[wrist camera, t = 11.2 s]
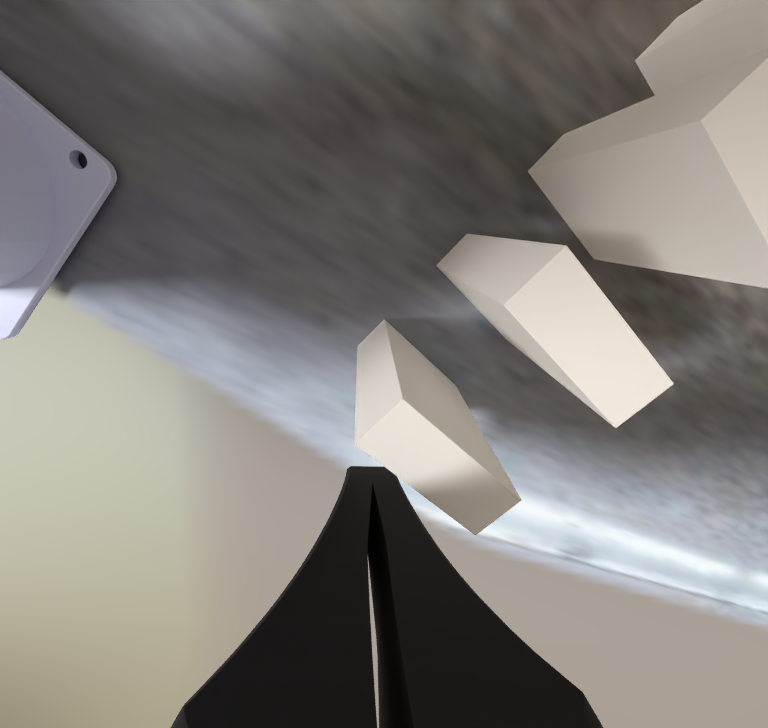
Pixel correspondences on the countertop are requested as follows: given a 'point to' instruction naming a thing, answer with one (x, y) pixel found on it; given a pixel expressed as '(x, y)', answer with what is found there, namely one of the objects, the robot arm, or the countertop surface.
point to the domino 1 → (426, 431)
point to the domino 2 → (704, 41)
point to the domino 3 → (673, 178)
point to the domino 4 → (558, 320)
